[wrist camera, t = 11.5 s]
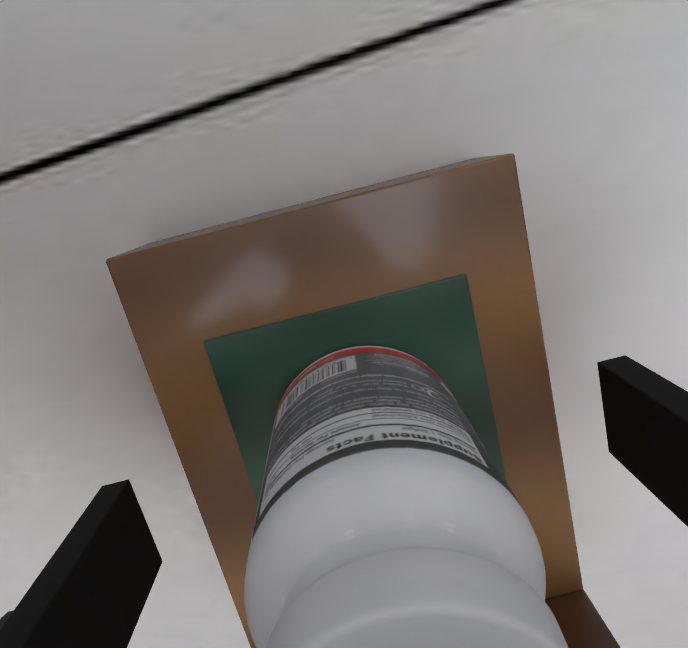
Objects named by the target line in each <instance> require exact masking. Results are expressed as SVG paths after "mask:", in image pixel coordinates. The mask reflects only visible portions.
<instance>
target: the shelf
mask: <svg viewBox="0 0 688 648" xmlns="http://www.w3.org/2000/svg"><path fill="white" fill-rule="evenodd" d="M106 263H107V266H108V268H109V271H110V274H111V276H112V279H113V282H114V284H115V287H116V290H117V292H118V295H119V298H120V300H121V303H122V306H123V308H124V311H125V314H126V316H127V319H128V322H129V324H130V327H131V330H132V332H133V335H134V338H135V340H136V343H137V346H138V348H139V351H140V354H141V356H142V359H143V362H144V364H145V367H146V370H147V372H148V375H149V378H150V380H151V383H152V385H153V388H154V391H155V393H156V396H157V399H158V401H159V404H160V407H161V409H162V412H163V415H164V417H165V420H166V423H167V425H168V428H169V431H170V433H171V436H172V439H173V441H174V444H175V447H176V449H177V452H178V455H179V457H180V460H181V463H182V465H183V468H184V471H185V473H186V476H187V479H188V481H189V484H190V487H191V489H192V492H193V495H194V497H195V500H196V503H197V505H198V508H199V510H200V513H201V516H202V518H203V521H204V524H205V526H206V529H207V532H208V534H209V537H210V540H211V542H212V545H213V548H214V550H215V553H216V556H217V558H218V561H219V564H220V566H221V569H222V572H223V574H224V577H225V580H226V582H227V585H228V588H229V590H230V593H231V596H232V598H233V601H234V604H235V606H236V609H237V612H238V614H239V617H240V620H241V622H242V625H243V628H244V630H245V633H246V635H247V638H248V641H249V643H250V646H251V648H256V646H255V644H254V641H253V639H252V636H251V633H250V629H249V626H248V622H247V616H246V611H245V602H244V583H245V573H246V565H247V560H248V554H249V549H250V544H251V538H252V533H253V529H254V524H255V519H256V514H257V509H258V504H259V499H260V494H261V489H262V484H263V478H264V473H265V467H266V461H267V457H268V451H269V446H270V440H271V436H272V431H273V426H274V421H275V417H276V413H277V409H278V407H279V404H280V402H281V400H282V397H283V395H284V394H285V392H286V390H287V389H288V387H289V386H290V384H291V383H292V382H293V381H294V379H295V378H296V377H297V376H298V375H299V374H300V373H301V372H302V371H303V370H304V369H305V368H307V367H308V366H309V365H311V364H312V363H313V362H315V361H317V360H318V359H320V358H322V357H324V356H326V355H328V354H330V353H333V352H335V351H338V350H342V349H345V348H350V347H356V346H381V347H388V348H392V349H396V350H399V351H402V352H405V353H407V354H409V355H411V356H413V357H415V358H417V359H419V360H420V361H422V362H423V363H425V364H426V365H427V366H429V367H430V368H431V369H432V370H433V371H434V372H435V373H436V374H437V375H438V376H439V377H440V378H441V379H442V380H443V382H444V383H445V384H446V385H447V387H448V388H449V390H450V391H451V393H452V394H453V396H454V398H455V399H456V401H457V403H458V404H459V406H460V407H461V409H462V411H463V412H464V414H465V415H466V417H467V419H468V420H469V422H470V424H471V425H472V427H473V429H474V430H475V432H476V434H477V435H478V437H479V439H480V440H481V442H482V443H483V445H484V447H485V448H486V450H487V452H488V453H489V455H490V457H491V458H492V460H493V461H494V463H495V464H496V466H497V468H498V469H499V471H500V472H501V474H502V476H503V477H504V479H505V481H506V482H507V484H508V485H509V487H510V488H511V490H512V492H513V493H514V495H515V496H516V498H517V500H518V501H519V503H520V505H521V507H522V508H523V510H524V512H525V514H526V515H527V517H528V519H529V521H530V523H531V526H532V528H533V530H534V532H535V534H536V536H537V539H538V542H539V545H540V548H541V552H542V556H543V561H544V566H545V577H546V594H545V603H546V604H547V605H548V607H549V608H550V610H551V611H552V613H553V615H554V616H555V618H556V620H557V622H558V625H559V627H560V629H561V632H562V634H563V636H564V638H565V641H566V643H567V645H568V648H620V646H619V645H618V643H617V641H616V640H615V638H614V637H613V635H612V634H611V632H610V630H609V629H608V627H607V626H606V624H605V623H604V621H603V619H602V618H601V616H600V615H599V613H598V612H597V610H596V608H595V607H594V605H593V604H592V602H591V601H590V599H589V597H588V596H587V594H586V593H585V591H584V590H583V585H582V579H581V573H580V566H579V560H578V554H577V547H576V541H575V535H574V528H573V522H572V516H571V510H570V503H569V497H568V491H567V484H566V478H565V472H564V465H563V459H562V453H561V446H560V440H559V434H558V427H557V421H556V415H555V408H554V402H553V396H552V389H551V383H550V377H549V370H548V364H547V358H546V352H545V345H544V339H543V333H542V326H541V320H540V314H539V307H538V301H537V295H536V288H535V282H534V276H533V269H532V263H531V257H530V250H529V244H528V238H527V231H526V225H525V219H524V212H523V206H522V200H521V194H520V187H519V181H518V175H517V168H516V162H515V156H514V154H504V155H496V156H488V157H480V158H473V159H469V160H465V161H462V162H458V163H454V164H450V165H446V166H442V167H439V168H435V169H431V170H427V171H423V172H420V173H416V174H412V175H408V176H404V177H400V178H397V179H393V180H389V181H385V182H381V183H377V184H374V185H370V186H366V187H362V188H358V189H354V190H351V191H347V192H343V193H339V194H335V195H332V196H328V197H324V198H320V199H316V200H312V201H309V202H305V203H301V204H297V205H293V206H289V207H286V208H282V209H278V210H274V211H270V212H267V213H263V214H259V215H255V216H251V217H247V218H244V219H240V220H236V221H232V222H228V223H224V224H221V225H217V226H213V227H209V228H205V229H202V230H198V231H194V232H190V233H186V234H182V235H179V236H175V237H171V238H167V239H163V240H159V241H156V242H152V243H148V244H146V245H143V246H140V247H138V248H135V249H133V250H130V251H127V252H125V253H122V254H119V255H117V256H114V257H112V258H109V259H107V260H106Z"/></svg>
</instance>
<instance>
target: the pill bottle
mask: <svg viewBox="0 0 688 648" xmlns="http://www.w3.org/2000/svg"><path fill="white" fill-rule="evenodd" d="M545 594H546V577H545V566H544V561H543V556H542V552H541V548H540V545H539V542H538V539H537V536H536V534H535V532H534V530H533V528H532V526H531V523H530V521H529V519H528V517H527V515H526V514H525V512H524V510H523V508H522V507H521V505H520V503H519V501H518V500H517V498H516V496H515V495H514V493H513V492H512V490H511V488H510V487H509V485H508V484H507V482H506V481H505V479H504V477H503V476H502V474H501V472H500V471H499V469H498V468H497V466H496V464H495V463H494V461H493V460H492V458H491V457H490V455H489V453H488V452H487V450H486V448H485V447H484V445H483V443H482V442H481V440H480V439H479V437H478V435H477V434H476V432H475V430H474V429H473V427H472V425H471V424H470V422H469V420H468V419H467V417H466V415H465V414H464V412H463V411H462V409H461V407H460V406H459V404H458V403H457V401H456V399H455V398H454V396H453V394H452V393H451V391H450V390H449V388H448V387H447V385H446V384H445V383H444V382H443V380H442V379H441V378H440V377H439V376H438V375H437V374H436V373H435V372H434V371H433V370H432V369H431V368H430V367H429V366H427V365H426V364H425V363H423V362H422V361H420V360H419V359H417V358H415V357H413V356H411V355H409V354H407V353H405V352H402V351H399V350H396V349H392V348H388V347H381V346H356V347H350V348H345V349H342V350H338V351H335V352H333V353H330V354H328V355H326V356H324V357H322V358H320V359H318V360H317V361H315V362H313V363H312V364H311V365H309V366H308V367H307V368H305V369H304V370H303V371H302V372H301V373H300V374H299V375H298V376H297V377H296V378H295V379H294V381H293V382H292V383H291V384H290V386H289V387H288V389H287V390H286V392H285V394H284V395H283V397H282V400H281V402H280V404H279V407H278V409H277V413H276V417H275V421H274V426H273V431H272V436H271V440H270V446H269V451H268V457H267V461H266V467H265V473H264V478H263V484H262V489H261V494H260V499H259V504H258V509H257V514H256V519H255V524H254V529H253V533H252V538H251V544H250V549H249V554H248V560H247V565H246V573H245V583H244V602H245V611H246V616H247V622H248V626H249V629H250V633H251V636H252V639H253V641H254V644H255V646H256V648H568V645H567V643H566V641H565V638H564V636H563V634H562V632H561V629H560V627H559V625H558V622H557V620H556V618H555V616H554V615H553V613H552V611H551V610H550V608H549V607H548V605H547V604H546V603H545Z"/></svg>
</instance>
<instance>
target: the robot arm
mask: <svg viewBox="0 0 688 648" xmlns="http://www.w3.org/2000/svg"><path fill="white" fill-rule="evenodd" d="M597 364H598V371H599V379H600V387H601V394H602V402H603V409H604V417H605V425H606V432H607V440H608V448H609V452H610V453H611V454H612V455H613V456H614V457H615V458H616V459H617V460H618V461H619V462H620V463H621V464H622V465H623V466H625V467H626V468H627V469H628V470H629V471H630V472H631V473H632V474H633V475H634V476H635V477H636V478H637V479H638V480H639V481H640V482H641V483H642V484H643V485H644V486H646V487H647V488H648V489H649V490H650V491H651V492H652V493H653V494H654V495H655V496H656V497H657V498H658V499H659V500H660V501H661V502H662V503H663V504H664V505H665V506H667V507H668V508H669V509H670V510H671V511H672V512H673V513H674V514H675V515H676V516H677V517H678V518H679V519H680V520H681V521H682V522H683V523H684V524H685V525H686V526H688V392H687V391H685V390H684V389H682V388H680V387H679V386H677V385H675V384H673V383H672V382H670V381H668V380H667V379H665V378H663V377H661V376H660V375H658V374H656V373H655V372H653V371H651V370H649V369H648V368H646V367H644V366H643V365H641V364H639V363H638V362H636V361H634V360H632V359H631V358H629V357H627V356H626V355H625V356H621V357H617V358H613V359H609V360H605V361H601V362H597ZM161 564H162V559H161V557H160V554H159V552H158V549H157V547H156V544H155V542H154V539H153V537H152V535H151V532H150V530H149V527H148V525H147V522H146V520H145V518H144V515H143V513H142V510H141V508H140V505H139V503H138V501H137V498H136V496H135V493H134V491H133V488H132V486H131V483H130V481H129V480H125V481H121V482H117V483H113V484H109V485H105V486H102V487H101V488H100V490H99V491H98V493H97V494H96V496H95V497H94V498H93V500H92V501H91V503H90V504H89V505H88V507H87V508H86V510H85V511H84V512H83V514H82V515H81V517H80V518H79V519H78V521H77V522H76V524H75V525H74V527H73V528H72V529H71V531H70V532H69V534H68V535H67V536H66V538H65V539H64V541H63V542H62V543H61V545H60V546H59V548H58V549H57V551H56V552H55V553H54V555H53V556H52V558H51V559H50V560H49V562H48V563H47V565H46V566H45V567H44V569H43V570H42V572H41V573H40V574H39V576H38V577H37V579H36V580H35V582H34V583H33V584H32V586H31V587H30V589H29V590H28V591H27V593H26V594H25V596H24V597H23V598H22V600H21V601H20V603H19V604H18V606H17V607H16V608H15V610H14V611H10V612H7V613H6V614H5V615H4V616H3V617H2V618H1V619H0V648H127V646H128V643H129V641H130V639H131V636H132V634H133V631H134V629H135V626H136V624H137V622H138V619H139V617H140V614H141V612H142V610H143V607H144V605H145V602H146V600H147V597H148V595H149V593H150V590H151V588H152V585H153V583H154V580H155V578H156V576H157V573H158V571H159V568H160V566H161Z"/></svg>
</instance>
